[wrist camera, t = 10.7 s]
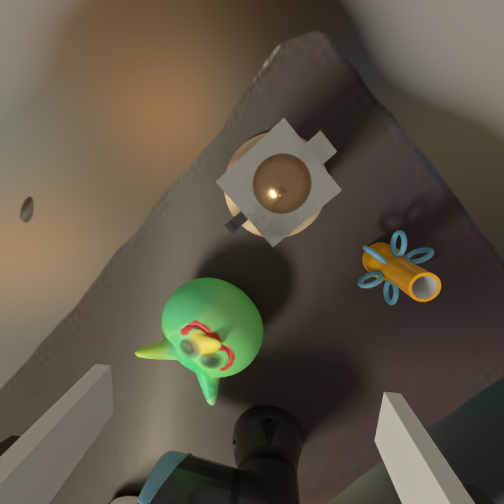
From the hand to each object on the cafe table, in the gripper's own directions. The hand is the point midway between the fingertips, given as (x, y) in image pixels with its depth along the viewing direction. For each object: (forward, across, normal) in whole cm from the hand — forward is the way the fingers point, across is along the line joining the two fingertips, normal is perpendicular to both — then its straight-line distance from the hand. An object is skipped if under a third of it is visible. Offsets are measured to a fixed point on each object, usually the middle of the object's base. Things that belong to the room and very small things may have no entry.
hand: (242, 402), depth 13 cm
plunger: (+29, -2, -11) cm, 32 cm away
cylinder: (+38, -21, 0) cm, 43 cm away
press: (+37, -2, -11) cm, 38 cm away
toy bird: (+38, +8, +13) cm, 41 cm away
